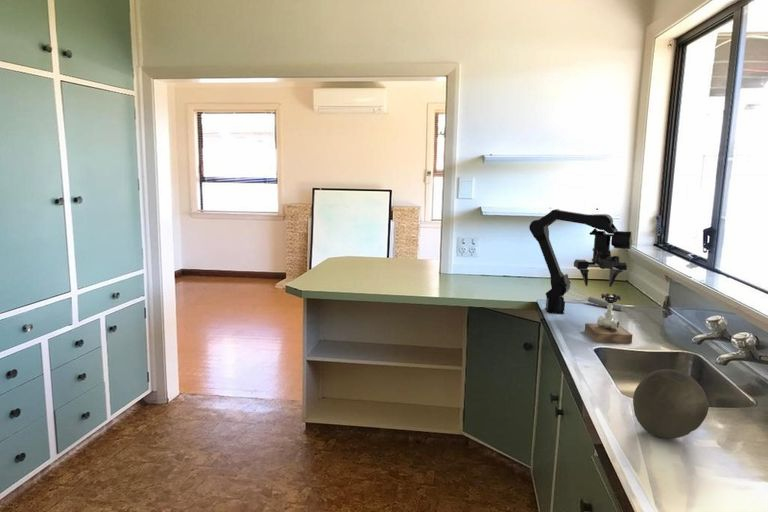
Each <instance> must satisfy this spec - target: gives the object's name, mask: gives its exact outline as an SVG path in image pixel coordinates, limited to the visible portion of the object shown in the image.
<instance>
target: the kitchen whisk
mask: <svg viewBox="0 0 768 512" xmlns="http://www.w3.org/2000/svg"><path fill="white" fill-rule="evenodd" d="M569 290H571V291H574V292H577V293H578V294H581V295H578V294H577V295H576V293H575V294H574V293H572V292H569V291H568V292H566V293H565V294H567V295H570V296H571V295H572V296H573V297H575V296H576V298H573V300H577V297H578V298H579V297H580V299H578V302H588V303H589V304H593V305H597V306H601V307H604V308H607V305H609V303H608V302H606V301H605V299H603V298H598V297H594V296H588V295H587V294H586V293H584V292H582V291H580V290H579V289H577V288H575V287H573V286H571V287H570V289H569ZM582 295H584V296H585V297H584V296H582ZM586 296H587V297H586ZM562 297H563V298H564V299H565V295H564V296H562ZM566 298H570V297H567V296H566ZM573 300H570V301H571V302H573ZM612 306H613V310H615V311H619V312H622V311H623V310H624V308H626V309H627V307H626V306H624V305H622V304H620V303H617V302H614V303H612Z"/></svg>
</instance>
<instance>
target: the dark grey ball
mask: <svg viewBox="0 0 768 512" xmlns="http://www.w3.org/2000/svg"><path fill="white" fill-rule="evenodd" d="M632 405H633V411H634V416H635V418H636V421H637V422H638V423H639V425H640V426H641V428H642V429H643V430H645V432H646V433H649V434H650V435H652V436H654V437H657V438H659V439H660V438H662V439H666V440H667V439H668V440H669V439H670V440H671V439H679V438H683V437H685V436H687V435H689V434H690V433H692V432H694V431H696V430H697V429H698V428H700V426H701V425H702V424H703V422H704V421H705V419H706V417H707V416H708V413H709V407H710V403H709V401H708V398H707V395H706V393H705V390H704V389H703V387H702V386H701V385H700V384H699V383H698V382H697V380H696V379H694V378H693V377H691V376H690V375H689V374H687V373H685V372H684V371H681V370H677V369H669V368H668V369H667V368H666V369H658V370H654V371H652V372H650V373H649V374H646V375H645V376H644V377H643V378H642V379H641V381H640V382H639V383H638V385H637V386H636V388H635V390H634V392H633V396H632Z"/></svg>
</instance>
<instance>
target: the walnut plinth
mask: <svg viewBox="0 0 768 512" xmlns="http://www.w3.org/2000/svg"><path fill="white" fill-rule="evenodd" d="M584 332H585V334H587V335H588V336H589V337H590V339H592V340H593V341H594V342H595V343H613V344H615V343H617V344H632V343H633V334H632V333H631V332H629V331H628V330H627V329H625V328H624V327H623V326H621V325H620V326H619V329H618V330H614V329H606V328H604V327H600V326H598V325H597V323H584Z"/></svg>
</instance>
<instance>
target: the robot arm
mask: <svg viewBox="0 0 768 512" xmlns="http://www.w3.org/2000/svg"><path fill="white" fill-rule="evenodd" d="M556 221H563V222H570V223H576V224H581V225H585V226H589V227H591V228H593V230H592V231H590V232H589V236H590V235H591V236H594V240H593V241H594V243H593V248H592V252H593V253H592V258H591V261H587V260H586V259H577V258H576V259H575V260H574V262H573V267H574V268H576V269H577V270H579V271H580V274H581V277H582V279H583V282H584V285H585V287H588V285H589V284H588V283H589V271H590V270H589V269H588V268H600V269H601V270H605V269H607V270H609V277H608V278H609V279H608V286H609V288H611V287H612V285H613V284H614V281H615V280H616V278H617V276H618V275H619V274H621V273H623V272H624V271H627V270H628V264H627V262H625V261H622V260H620V257H619V256H617V255H613V256H612V253H611V250H610V249H611V248H610V247H611V246H612V247H613V248H614V249H617V250H618V249H619V250H631V249H632V244H633V236H632V234H633V232H632V231H629V230H628V231H627V230H626V231H625V230H624V231H621V230H620V231H619V230H618V229H617V227H616V226H615V225H614V220H613V217H612V216H611V215H610V214H606V213H602V214H601V213H599V214H597V213H596V214H586V213H580V212H574V211H567V210H562V209H559V208H556V209H553V210H551V211H550V212H548V213H547V214H545V215H543V216H542V217H541V218H539V219H535V220H532V221H531V222H530V224H529V227H528V228H529V231H530V233H531V235H532V236H533V238H534V239H535V241H537V243H538V245H539V248H540V251H541V253H542V256H543V259H544V261H545V264H546V267H547V269H548V272H549V275H550V286H551V289H549V290H548V291H547V292H545V295H546V296H545V297H546V299H545V300H546V301H545V302H546V303H545V307H544V310H545V312H546V313H548V314H561V315H562V314H565V305H566V304H565V303H566V301H565V294H566V293H568V292H569V291H570V290H571V289H570V288H571V284H572V282H571V281H570V279H569V275H568V273H565V274H564V273H563V272H562V269H561V267H560V265H559V262H558V259H557V257H556V254H555V252H554V249H553V246H552V243H551V240H550V229H549V227H550V225H552V224H553V223H554V222H556ZM563 296H564V298H563Z"/></svg>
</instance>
